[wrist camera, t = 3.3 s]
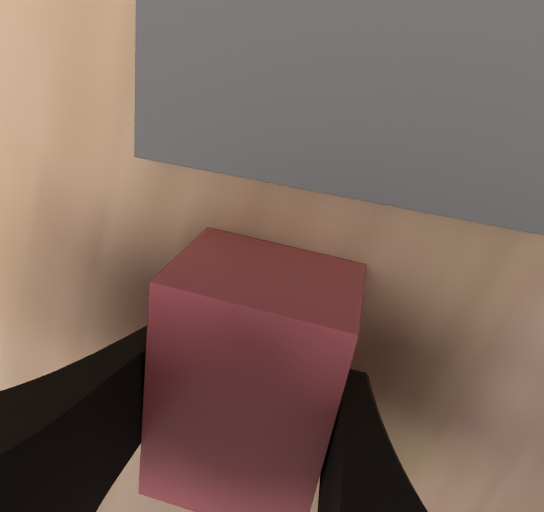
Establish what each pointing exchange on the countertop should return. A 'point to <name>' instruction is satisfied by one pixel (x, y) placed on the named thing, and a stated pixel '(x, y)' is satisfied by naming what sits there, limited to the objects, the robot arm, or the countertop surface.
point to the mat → (353, 99)
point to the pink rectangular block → (245, 373)
